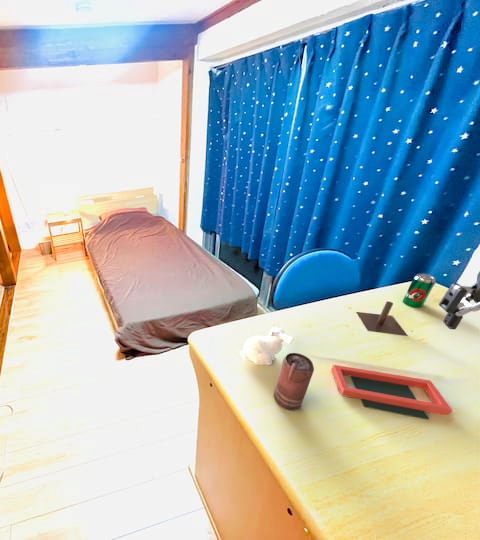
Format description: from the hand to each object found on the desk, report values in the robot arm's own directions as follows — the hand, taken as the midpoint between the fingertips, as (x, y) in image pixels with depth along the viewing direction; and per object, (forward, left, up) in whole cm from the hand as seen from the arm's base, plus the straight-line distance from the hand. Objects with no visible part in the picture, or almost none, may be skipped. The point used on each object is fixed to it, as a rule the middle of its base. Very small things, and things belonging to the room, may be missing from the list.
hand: (475, 329), depth 59 cm
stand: (+2, -25, -20) cm, 32 cm away
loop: (+11, +3, -20) cm, 23 cm away
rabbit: (+38, -2, -20) cm, 43 cm away
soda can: (-12, -39, -20) cm, 46 cm away
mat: (+11, +3, -20) cm, 23 cm away
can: (+34, +12, -20) cm, 41 cm away
